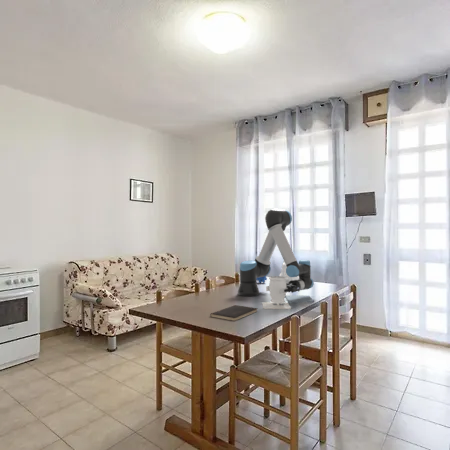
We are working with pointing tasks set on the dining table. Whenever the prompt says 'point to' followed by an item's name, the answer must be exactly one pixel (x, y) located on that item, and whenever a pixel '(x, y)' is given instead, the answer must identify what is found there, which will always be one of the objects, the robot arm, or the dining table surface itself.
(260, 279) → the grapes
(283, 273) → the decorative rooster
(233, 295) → the dining table surface
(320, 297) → the dining table surface
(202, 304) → the dining table surface
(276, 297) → the jar
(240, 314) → the hardcover book
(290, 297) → the mat
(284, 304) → the tile
